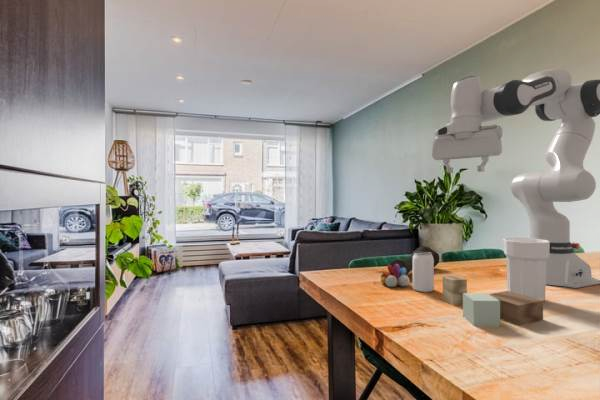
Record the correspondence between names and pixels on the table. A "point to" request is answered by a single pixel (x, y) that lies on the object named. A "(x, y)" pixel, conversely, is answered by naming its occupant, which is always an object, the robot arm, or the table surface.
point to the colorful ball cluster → (395, 276)
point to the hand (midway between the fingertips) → (464, 172)
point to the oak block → (454, 289)
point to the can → (423, 272)
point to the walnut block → (519, 308)
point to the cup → (526, 266)
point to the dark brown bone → (409, 261)
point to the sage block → (481, 309)
